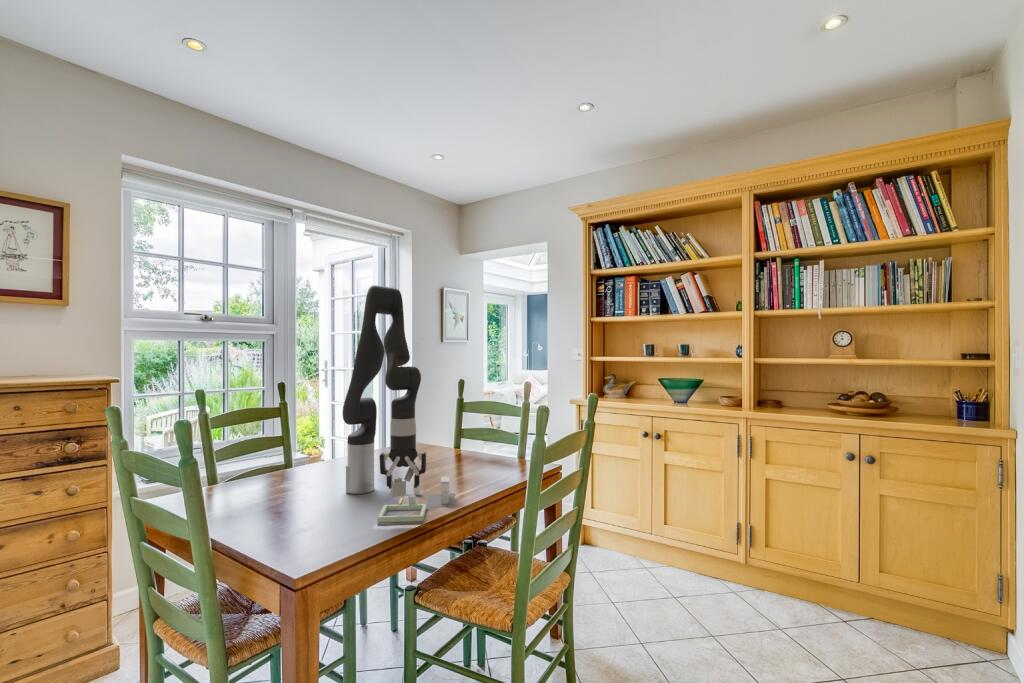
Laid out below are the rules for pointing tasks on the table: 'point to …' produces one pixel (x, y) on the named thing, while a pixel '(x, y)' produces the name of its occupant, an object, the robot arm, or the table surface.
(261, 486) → the table surface
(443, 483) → the block
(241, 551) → the table surface
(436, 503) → the fuse panel
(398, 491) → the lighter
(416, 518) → the tray
